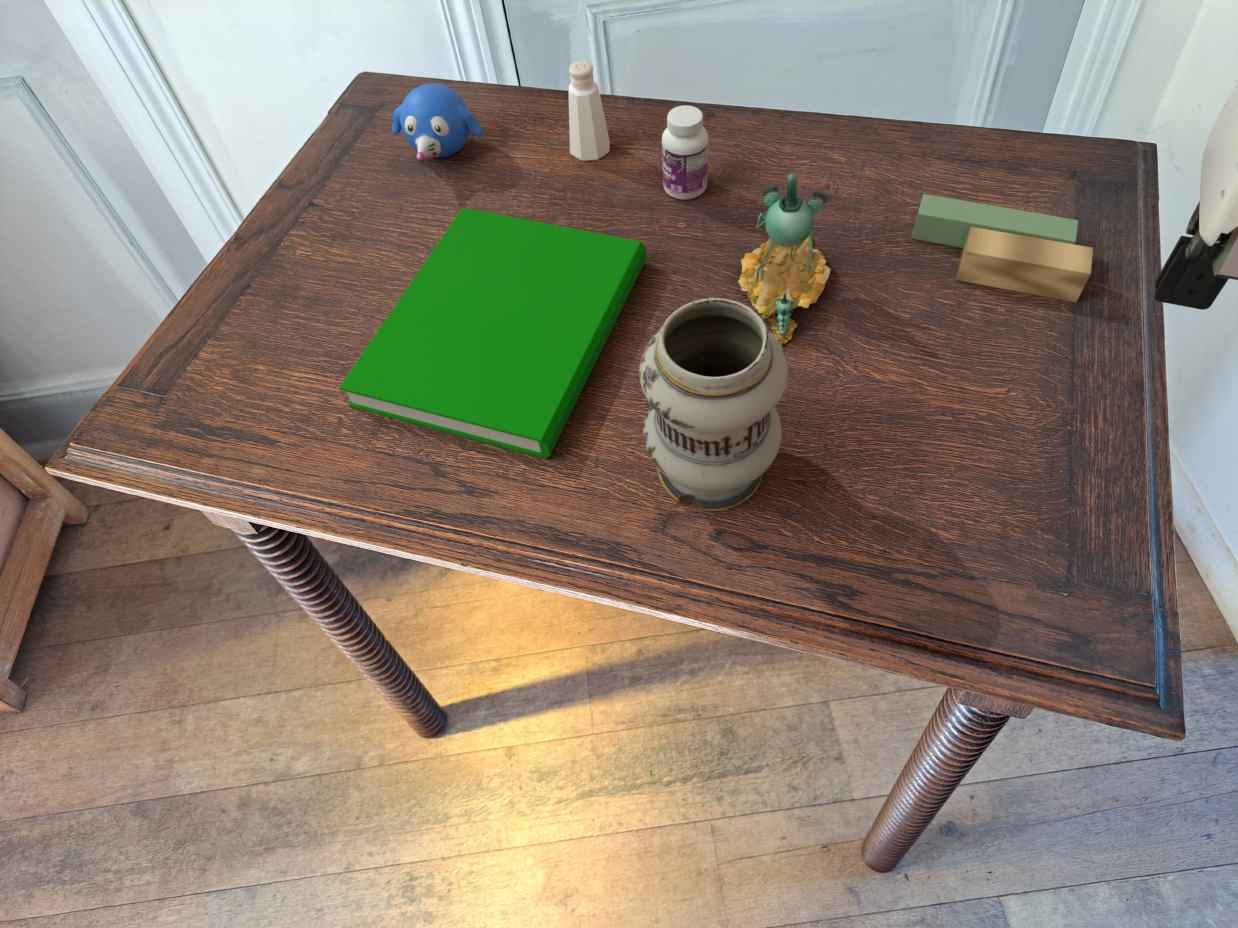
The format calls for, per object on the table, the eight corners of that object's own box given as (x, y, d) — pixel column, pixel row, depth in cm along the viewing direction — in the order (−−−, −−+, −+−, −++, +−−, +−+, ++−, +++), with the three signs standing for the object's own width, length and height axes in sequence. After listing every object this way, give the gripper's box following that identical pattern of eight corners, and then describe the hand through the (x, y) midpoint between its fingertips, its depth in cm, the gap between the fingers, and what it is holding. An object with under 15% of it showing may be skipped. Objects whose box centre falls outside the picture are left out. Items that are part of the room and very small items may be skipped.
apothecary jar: (627, 502, 78) (613, 374, 63) (669, 403, 84) (664, 266, 69) (756, 538, 75) (772, 412, 60) (789, 433, 81) (812, 295, 66)
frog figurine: (711, 334, 89) (717, 210, 78) (758, 238, 100) (770, 117, 89) (801, 355, 86) (822, 229, 75) (840, 254, 97) (863, 131, 86)
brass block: (1078, 277, 90) (1093, 247, 87) (1076, 303, 88) (1091, 274, 85) (960, 255, 93) (970, 226, 90) (955, 280, 91) (965, 251, 88)
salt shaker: (577, 167, 106) (567, 85, 97) (562, 143, 109) (550, 61, 100) (617, 154, 107) (611, 71, 98) (601, 131, 110) (593, 49, 101)
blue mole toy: (382, 187, 107) (360, 127, 100) (408, 129, 114) (389, 70, 107) (474, 190, 105) (459, 129, 98) (495, 131, 112) (482, 71, 105)
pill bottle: (653, 185, 103) (650, 114, 95) (688, 167, 105) (688, 95, 97) (681, 208, 101) (680, 136, 93) (716, 189, 102) (718, 116, 94)
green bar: (1066, 245, 93) (1078, 220, 90) (1064, 267, 91) (1076, 241, 88) (916, 218, 97) (923, 193, 94) (911, 239, 95) (917, 213, 92)
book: (348, 406, 87) (338, 387, 84) (468, 228, 101) (462, 207, 99) (551, 460, 81) (546, 441, 79) (646, 263, 96) (645, 242, 93)
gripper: (1475, 110, 35) (1246, 396, 50) (1433, -57, 43) (1245, 234, 58) (1268, 85, 37) (1107, 367, 52) (1263, -70, 45) (1124, 214, 60)
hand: (1180, 296), depth 55 cm, fingers closed
